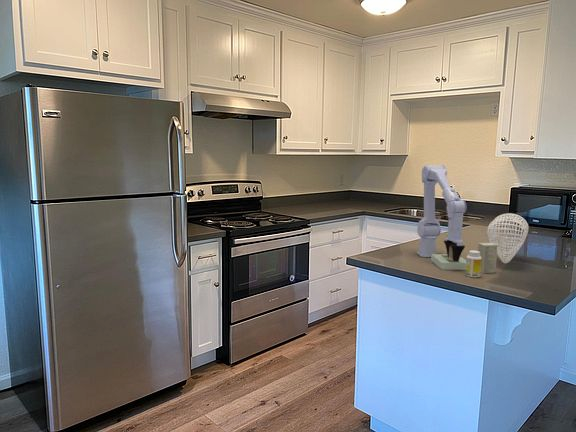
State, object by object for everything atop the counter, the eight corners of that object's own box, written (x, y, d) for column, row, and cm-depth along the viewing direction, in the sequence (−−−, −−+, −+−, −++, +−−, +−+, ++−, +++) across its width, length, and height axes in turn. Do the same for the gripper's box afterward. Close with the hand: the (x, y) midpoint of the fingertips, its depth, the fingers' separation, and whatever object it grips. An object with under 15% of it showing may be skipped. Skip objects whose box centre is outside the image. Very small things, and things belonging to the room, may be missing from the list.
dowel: (447, 266, 190) (448, 246, 188) (454, 266, 189) (455, 246, 188) (448, 268, 187) (450, 247, 186) (456, 268, 186) (457, 248, 185)
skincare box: (490, 270, 184) (492, 242, 182) (495, 273, 179) (498, 244, 178) (476, 270, 183) (478, 242, 182) (481, 273, 179) (483, 244, 177)
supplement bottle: (482, 275, 175) (484, 251, 174) (477, 278, 171) (479, 253, 170) (468, 273, 179) (470, 249, 177) (463, 275, 175) (465, 251, 173)
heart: (490, 255, 212) (494, 210, 209) (526, 259, 204) (530, 213, 201) (482, 267, 189) (486, 217, 186) (522, 272, 181) (526, 220, 177)
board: (431, 260, 200) (431, 254, 200) (457, 260, 200) (457, 254, 199) (441, 269, 184) (441, 262, 184) (469, 270, 184) (470, 263, 183)
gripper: (440, 225, 193) (438, 254, 195) (451, 230, 178) (449, 262, 180) (456, 225, 192) (454, 254, 194) (468, 231, 178) (466, 262, 180)
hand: (453, 258), depth 187 cm, fingers open, 7 cm apart
